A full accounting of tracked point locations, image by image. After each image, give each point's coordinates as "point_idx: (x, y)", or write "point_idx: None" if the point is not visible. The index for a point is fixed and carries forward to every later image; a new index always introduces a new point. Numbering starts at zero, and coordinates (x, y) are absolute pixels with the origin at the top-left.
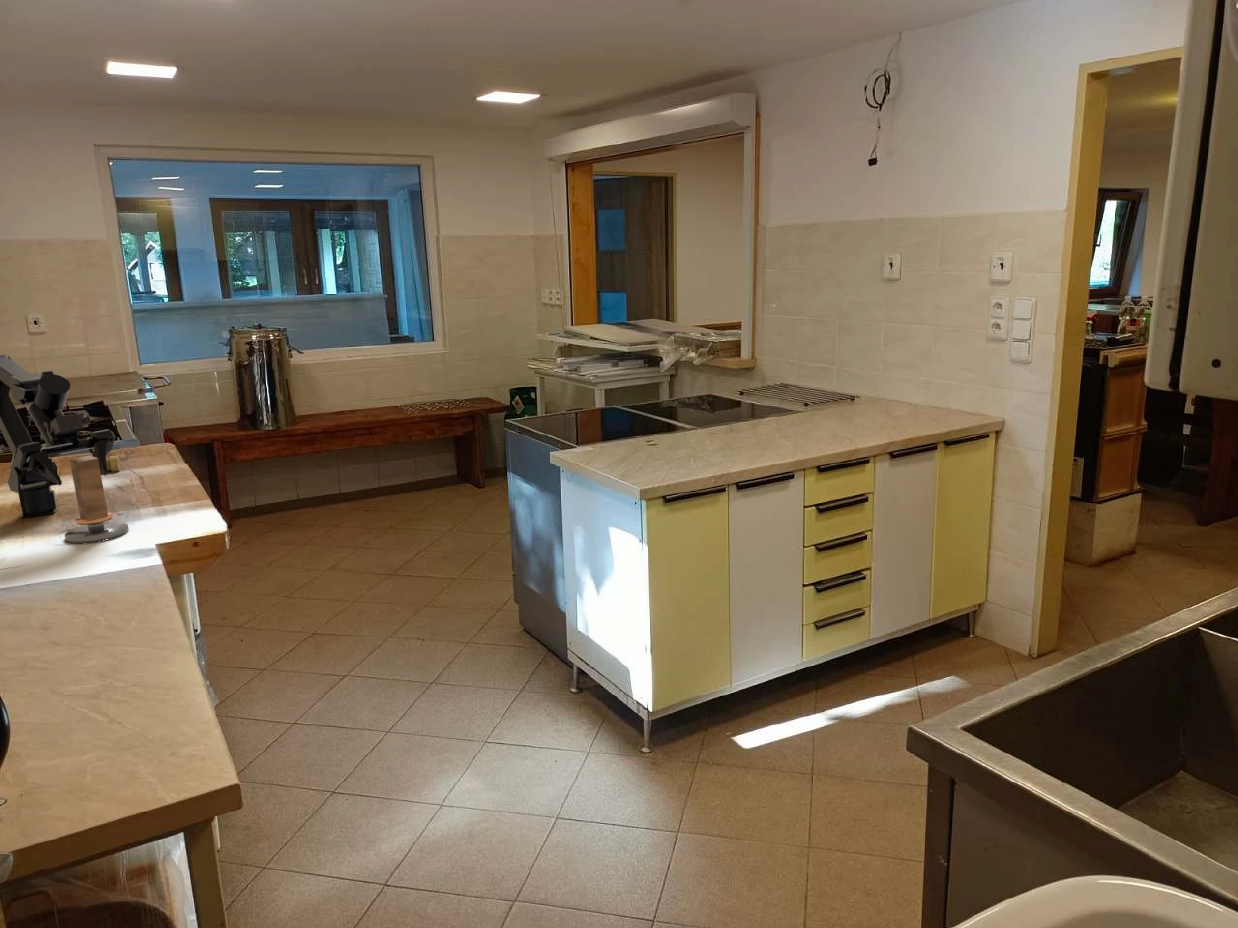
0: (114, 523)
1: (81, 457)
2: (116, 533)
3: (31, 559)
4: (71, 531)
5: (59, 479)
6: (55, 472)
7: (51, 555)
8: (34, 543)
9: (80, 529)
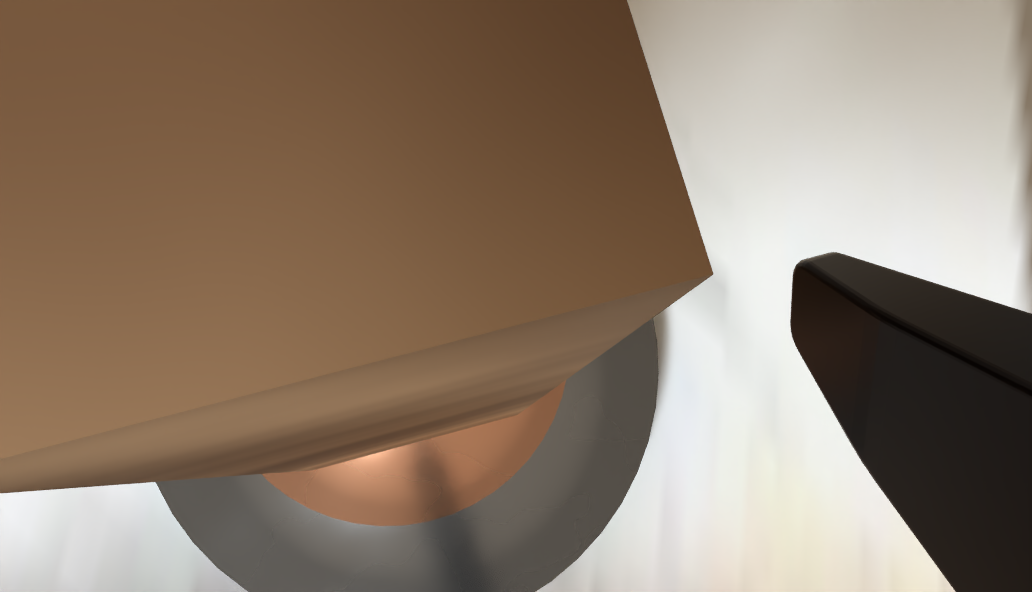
0: (223, 482)
1: (210, 377)
2: None
3: (892, 45)
4: (593, 487)
5: (856, 281)
6: (1005, 344)
7: (768, 40)
8: (868, 480)
9: (517, 498)
